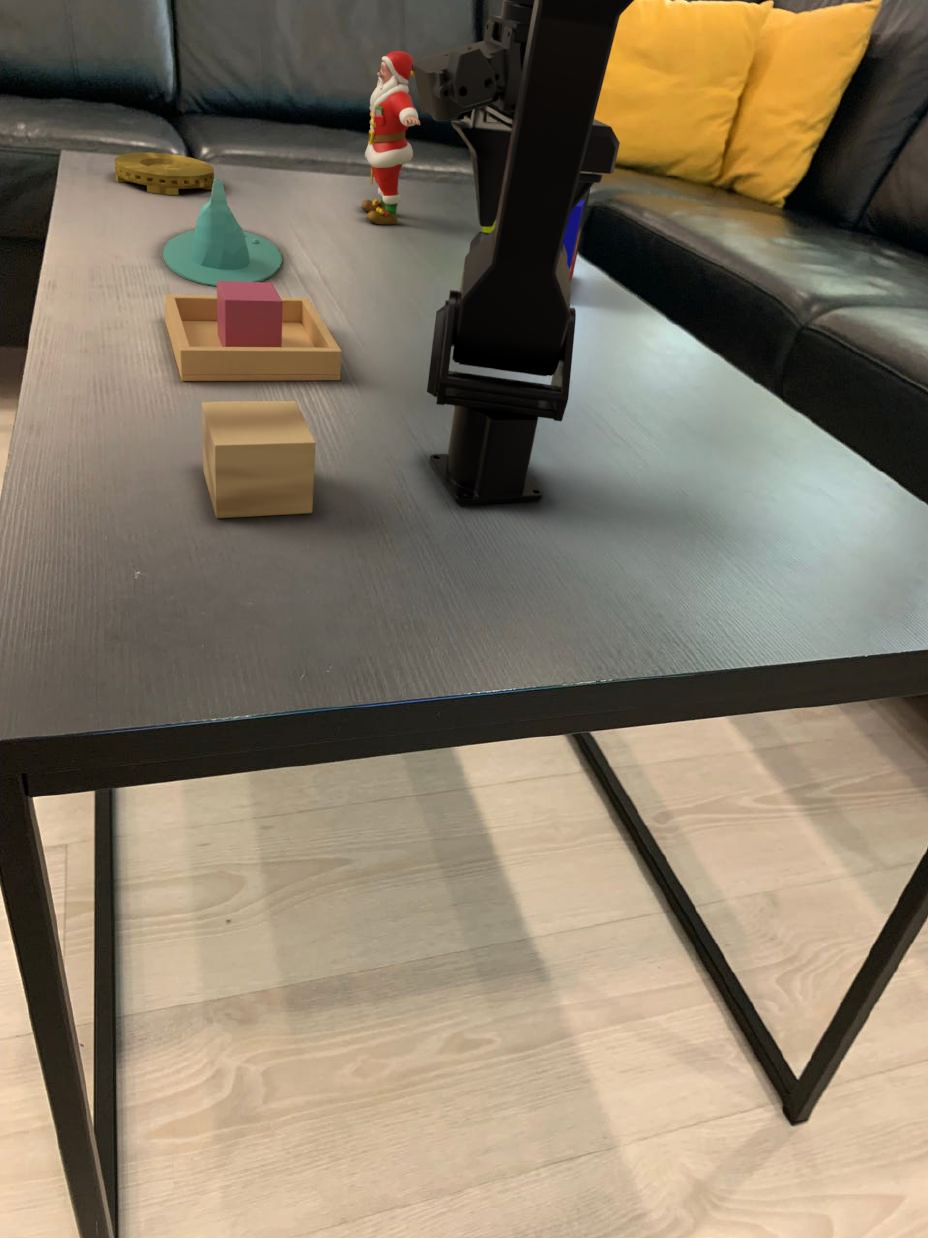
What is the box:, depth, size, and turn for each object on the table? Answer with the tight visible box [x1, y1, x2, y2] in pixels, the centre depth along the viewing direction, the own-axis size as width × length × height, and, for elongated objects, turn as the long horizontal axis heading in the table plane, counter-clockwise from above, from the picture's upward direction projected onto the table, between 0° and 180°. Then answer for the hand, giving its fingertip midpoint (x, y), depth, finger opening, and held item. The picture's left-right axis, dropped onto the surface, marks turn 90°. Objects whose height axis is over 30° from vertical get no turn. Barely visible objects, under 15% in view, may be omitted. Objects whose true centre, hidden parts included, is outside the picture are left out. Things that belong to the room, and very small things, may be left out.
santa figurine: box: [361, 50, 421, 226], centre depth 116 cm, size 25×6×19 cm, turn 12°
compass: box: [114, 152, 215, 196], centre depth 119 cm, size 12×12×2 cm
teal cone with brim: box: [162, 178, 283, 287], centre depth 97 cm, size 12×20×9 cm, turn 7°
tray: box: [163, 293, 343, 382], centre depth 79 cm, size 13×13×2 cm
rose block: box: [216, 281, 283, 347], centre depth 78 cm, size 5×5×5 cm
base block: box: [201, 400, 317, 519], centre depth 59 cm, size 6×6×5 cm
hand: (506, 243), depth 73 cm, fingers open, 9 cm apart
